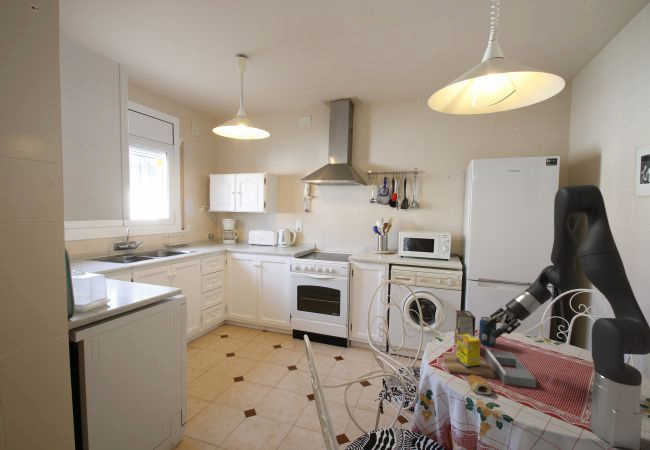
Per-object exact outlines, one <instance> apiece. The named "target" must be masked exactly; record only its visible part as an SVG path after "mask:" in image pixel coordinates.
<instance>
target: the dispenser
mask: <svg viewBox="0 0 650 450" xmlns="http://www.w3.org/2000/svg"><path fill="white" fill-rule="evenodd" d="M484 358H485V359H486V362H488V363H489V364H490V367H491V368H492V369H493V372H494V373H496V376H498V377H499V379H500V380H501V382H502V383H503V385H509V386H510V385H512V386H518V387H527V388H534V389H535V388H536V387H537V379H536V377H535V376H534V375H533V374H532V373H531V372H530V371H529V370H528V369H527V368H526V367H525V365H524V364H523V363H522V362H521V361H520V360H519V359H518V358H517V357H516V356H515V354H514V353H513V352H511V351H502V350H500V351H499V350H491V349H489V347H487V346H484ZM503 366H507V367H508V368H506V367H503ZM509 367H515V368H509ZM536 389H537V388H536Z"/></svg>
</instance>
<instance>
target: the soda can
mask: <svg viewBox="0 0 650 450" xmlns="http://www.w3.org/2000/svg"><path fill="white" fill-rule="evenodd" d="M490 318H491V317H490V316H489V317H488V316H482V317H481V319H480V320H479V326H478V327H479V328H478V329H479V330H478V339H479V340H480V345H482V346H484V347H487V348H493V347H494V346H495V345H496V343H497V339H496V338H494V337H493V336H492V333H493V332H494V331H495V330H497V324H498V323H497V324H495V325H494V326H492V327H491V328H490V329H489V330H487V329H486V328H485V327H484V324H486V323H487V322H488V321H489V320H491V319H490Z"/></svg>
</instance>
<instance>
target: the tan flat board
mask: <svg viewBox="0 0 650 450" xmlns="http://www.w3.org/2000/svg"><path fill="white" fill-rule="evenodd" d="M441 356H442V358H443V360H444V363H445V365H446V368H447V370H448V373H450V374H455V375H463V376H470V375H477V376H480V377H482V378H489V379H490V378H491V379H496V374H495V372H494V371H493V370H492V369H491V366H489V364H488V363H487V361H486V360H485V359H484V357H483V356H480V357H479V367H472V368H466V367H465V366H464V365H462V364H461V363H460V362H458V361H457V353H456V354H455V353H448V352H442V353H441Z"/></svg>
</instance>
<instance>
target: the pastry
mask: <svg viewBox="0 0 650 450" xmlns="http://www.w3.org/2000/svg"><path fill="white" fill-rule="evenodd" d="M468 376H469V377H468V385H469V386H470V387H469V388H470V390H471V391H472V393H474V394H477V395H491V394H492V392H493V391H492V387H491V385H490V383H489V382H488V381H487V380H486V379H484V377H480V376H477V375H468Z"/></svg>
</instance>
